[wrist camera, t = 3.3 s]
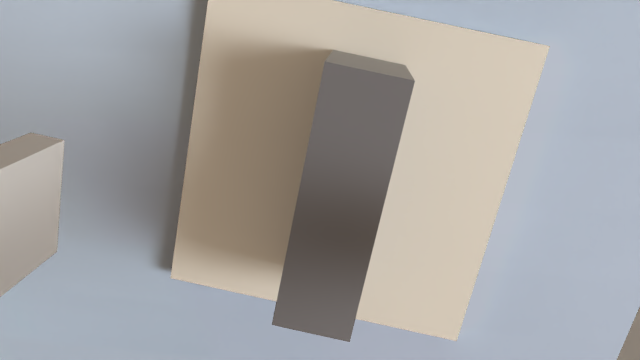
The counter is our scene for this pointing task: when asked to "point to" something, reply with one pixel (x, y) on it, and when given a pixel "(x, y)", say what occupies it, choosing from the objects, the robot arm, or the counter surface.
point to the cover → (349, 161)
